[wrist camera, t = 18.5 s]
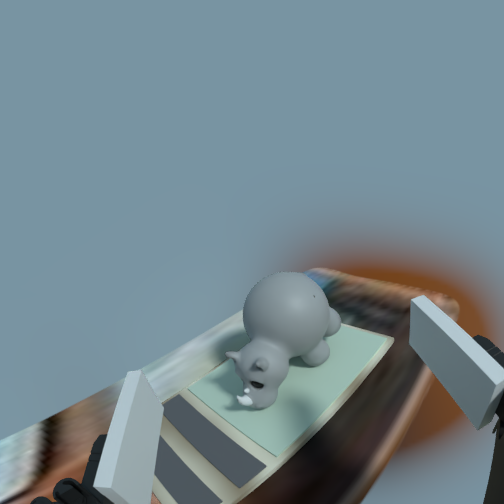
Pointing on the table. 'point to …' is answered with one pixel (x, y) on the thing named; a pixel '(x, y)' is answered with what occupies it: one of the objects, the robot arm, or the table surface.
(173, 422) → the dark gray parallel strips
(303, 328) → the chubby cartoon animal
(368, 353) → the pad
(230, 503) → the board
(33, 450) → the table surface
